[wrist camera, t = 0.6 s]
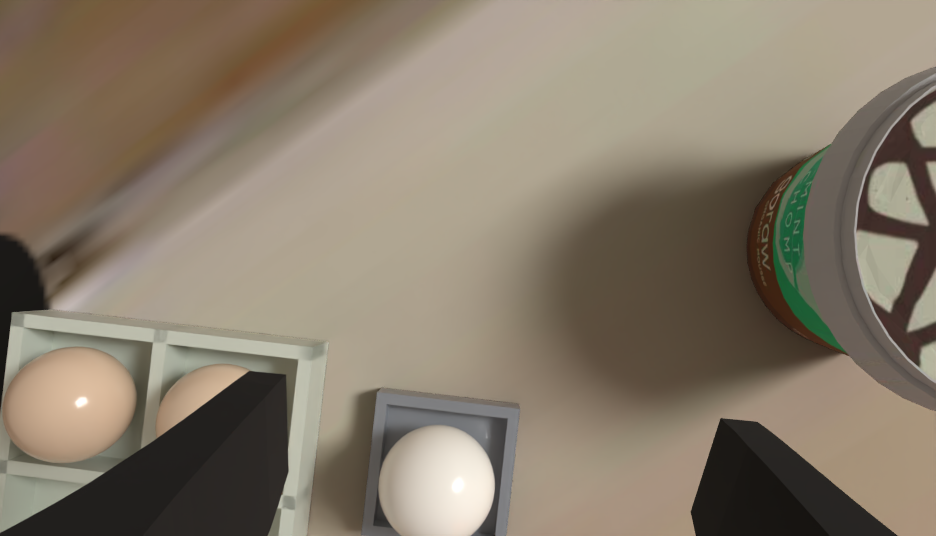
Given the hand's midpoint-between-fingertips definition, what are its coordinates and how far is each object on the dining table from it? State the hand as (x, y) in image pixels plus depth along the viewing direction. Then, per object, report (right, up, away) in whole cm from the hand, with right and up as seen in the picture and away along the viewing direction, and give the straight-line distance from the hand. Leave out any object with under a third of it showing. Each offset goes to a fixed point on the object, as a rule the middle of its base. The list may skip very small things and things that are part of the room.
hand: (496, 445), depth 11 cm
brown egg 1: (-18, -3, +20) cm, 27 cm away
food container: (+15, +4, +19) cm, 24 cm away
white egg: (-2, -6, +19) cm, 20 cm away
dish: (-2, -6, +20) cm, 21 cm away
